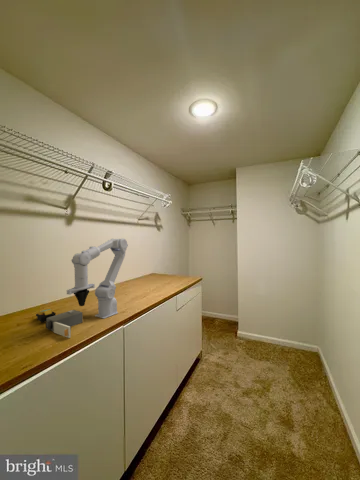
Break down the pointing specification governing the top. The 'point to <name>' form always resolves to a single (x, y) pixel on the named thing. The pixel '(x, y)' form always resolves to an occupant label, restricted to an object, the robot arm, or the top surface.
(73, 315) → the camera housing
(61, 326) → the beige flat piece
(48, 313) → the gadget
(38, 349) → the top surface
